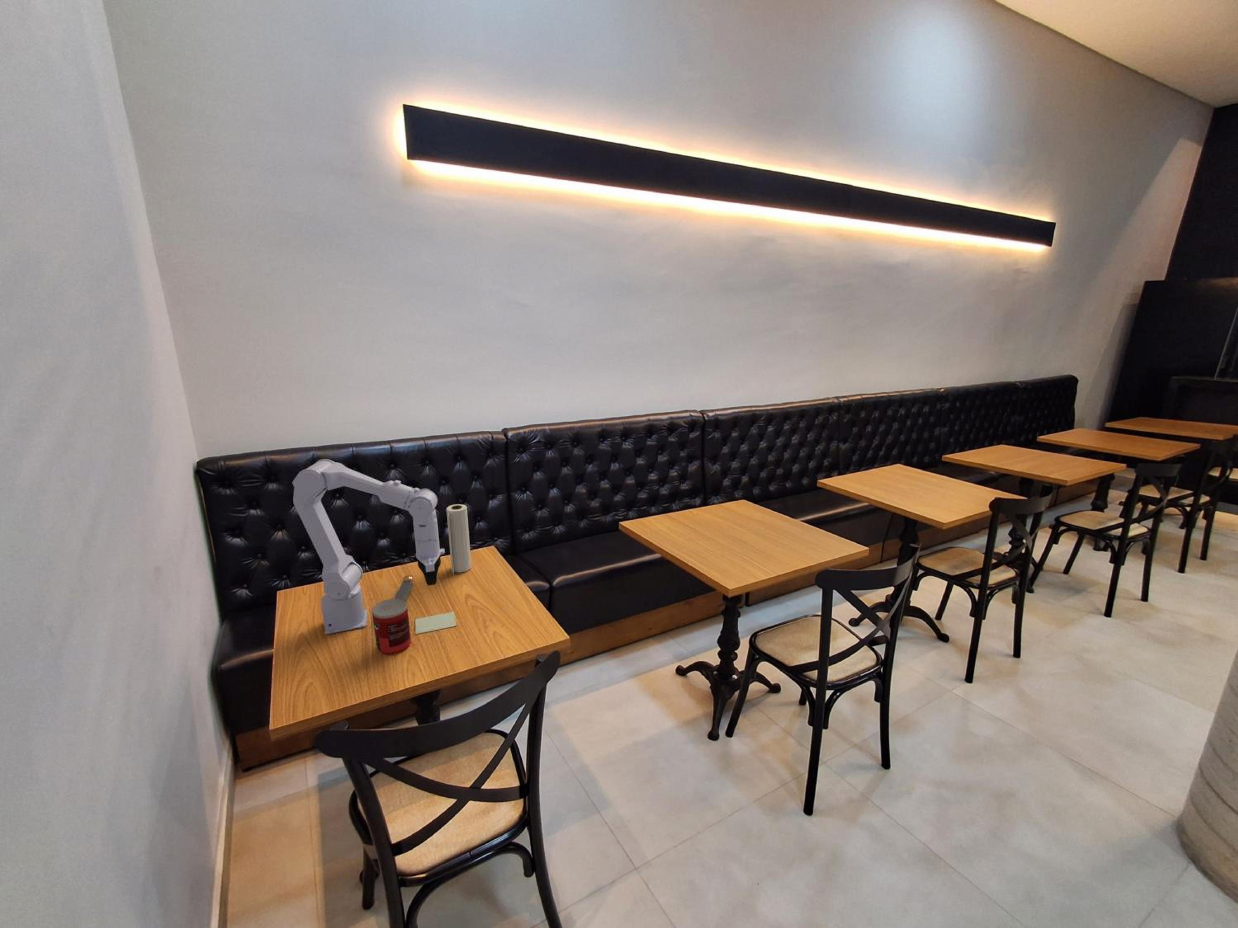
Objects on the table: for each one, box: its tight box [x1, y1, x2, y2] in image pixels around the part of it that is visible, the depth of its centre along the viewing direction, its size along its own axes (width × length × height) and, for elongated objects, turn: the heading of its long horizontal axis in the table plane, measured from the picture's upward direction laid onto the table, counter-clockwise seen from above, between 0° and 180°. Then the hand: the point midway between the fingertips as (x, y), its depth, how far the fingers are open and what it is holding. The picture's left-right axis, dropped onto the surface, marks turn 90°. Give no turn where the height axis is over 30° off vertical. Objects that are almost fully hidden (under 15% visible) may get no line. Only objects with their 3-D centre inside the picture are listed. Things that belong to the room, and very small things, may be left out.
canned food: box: [371, 598, 412, 656], centre depth 124 cm, size 8×8×11 cm
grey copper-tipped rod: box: [393, 574, 415, 603], centre depth 143 cm, size 18×3×3 cm, turn 8°
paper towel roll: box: [445, 503, 472, 576], centre depth 160 cm, size 7×6×21 cm
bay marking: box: [414, 611, 457, 635], centre depth 135 cm, size 10×7×1 cm
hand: (431, 583), depth 134 cm, fingers closed
